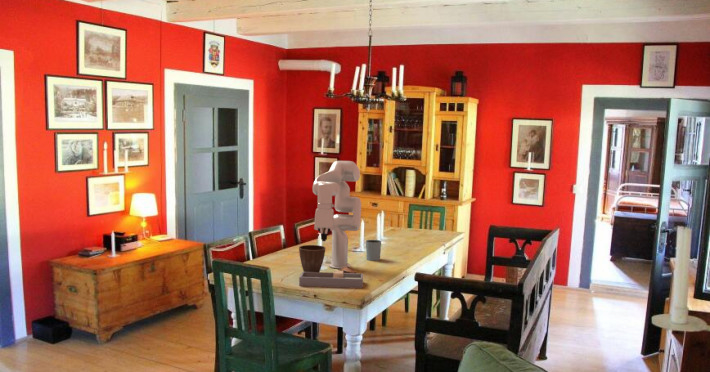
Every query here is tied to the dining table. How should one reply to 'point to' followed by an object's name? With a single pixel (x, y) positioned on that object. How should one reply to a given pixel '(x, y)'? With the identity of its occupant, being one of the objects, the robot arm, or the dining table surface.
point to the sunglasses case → (347, 270)
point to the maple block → (338, 274)
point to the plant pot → (311, 257)
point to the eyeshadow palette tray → (330, 280)
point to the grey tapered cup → (373, 250)
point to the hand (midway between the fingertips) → (323, 240)
